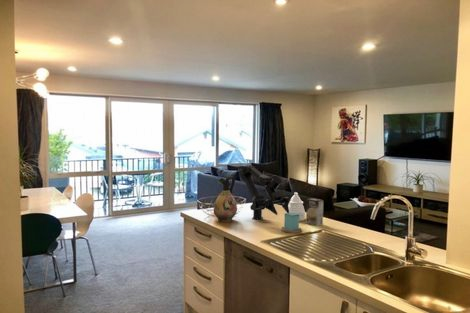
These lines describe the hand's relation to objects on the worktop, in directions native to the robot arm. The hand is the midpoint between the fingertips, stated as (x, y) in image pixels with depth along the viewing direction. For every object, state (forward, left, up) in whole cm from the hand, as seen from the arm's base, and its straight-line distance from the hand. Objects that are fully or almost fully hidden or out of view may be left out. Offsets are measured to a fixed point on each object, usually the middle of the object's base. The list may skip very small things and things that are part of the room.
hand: (282, 213), depth 213 cm
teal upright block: (+6, +6, -8) cm, 11 cm away
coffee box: (-14, +19, -9) cm, 25 cm away
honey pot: (-26, +6, -9) cm, 28 cm away
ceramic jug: (-7, -38, -9) cm, 40 cm away
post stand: (+6, +6, -9) cm, 12 cm away
